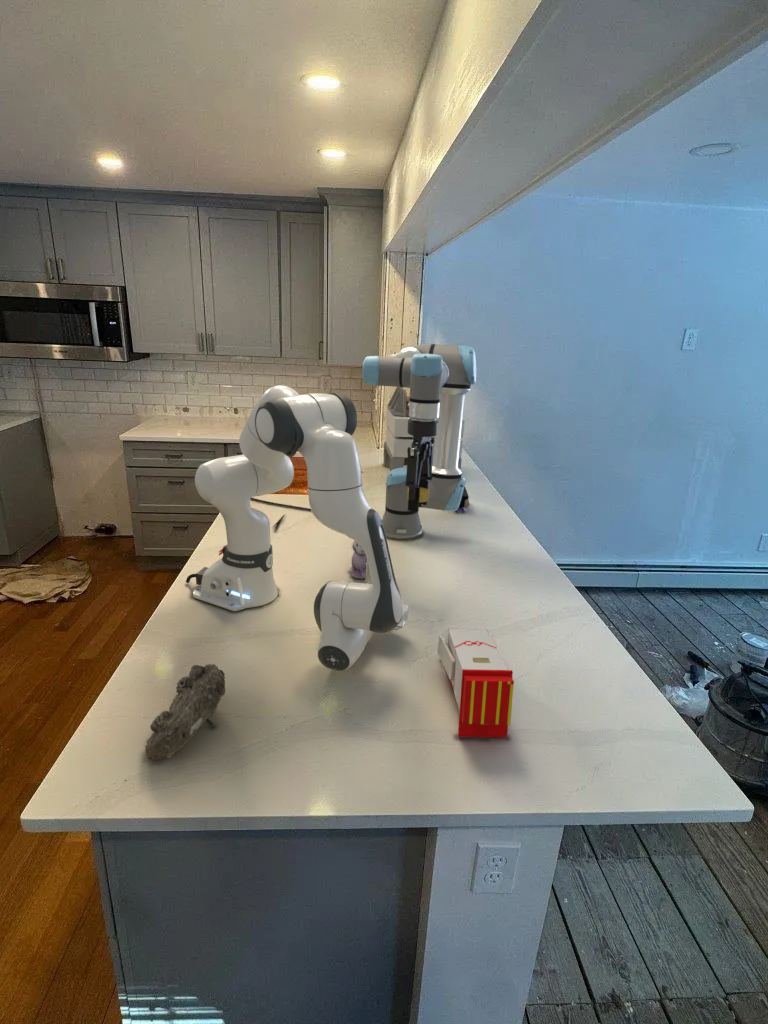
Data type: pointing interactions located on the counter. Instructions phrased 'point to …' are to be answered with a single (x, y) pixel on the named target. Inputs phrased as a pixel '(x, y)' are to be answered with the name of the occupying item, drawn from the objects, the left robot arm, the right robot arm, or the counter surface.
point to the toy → (478, 682)
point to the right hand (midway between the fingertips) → (417, 506)
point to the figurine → (358, 561)
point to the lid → (422, 494)
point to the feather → (278, 523)
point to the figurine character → (464, 501)
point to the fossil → (186, 710)
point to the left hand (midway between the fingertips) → (375, 595)
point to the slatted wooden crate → (401, 431)
